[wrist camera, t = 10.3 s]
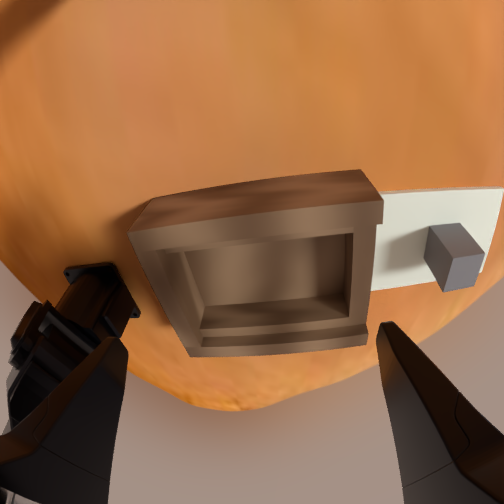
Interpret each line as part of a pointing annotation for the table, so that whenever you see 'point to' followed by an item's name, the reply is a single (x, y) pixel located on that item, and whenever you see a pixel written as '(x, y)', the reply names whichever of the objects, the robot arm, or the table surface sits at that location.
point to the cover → (435, 236)
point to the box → (264, 263)
